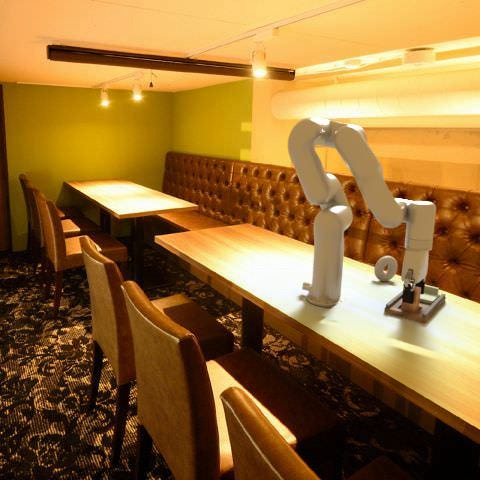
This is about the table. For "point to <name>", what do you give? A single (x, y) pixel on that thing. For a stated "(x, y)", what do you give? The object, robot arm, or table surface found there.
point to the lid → (429, 294)
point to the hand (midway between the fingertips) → (413, 297)
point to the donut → (390, 271)
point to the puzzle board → (422, 315)
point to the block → (415, 305)
